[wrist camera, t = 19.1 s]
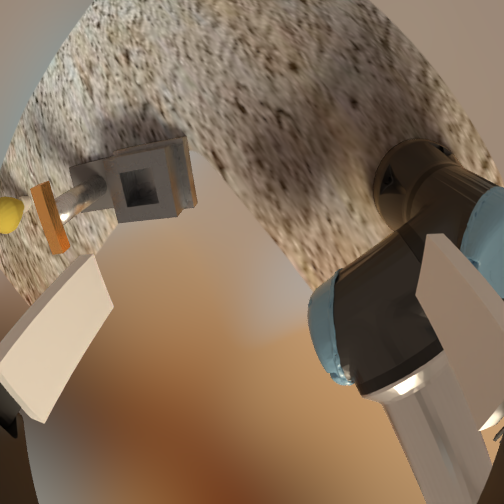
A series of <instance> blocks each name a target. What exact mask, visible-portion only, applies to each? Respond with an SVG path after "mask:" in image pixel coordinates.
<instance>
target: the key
mask: <svg viewBox="0 0 504 504" xmlns="http://www.w3.org/2000/svg"><path fill="white" fill-rule="evenodd" d="M30 190H31V194H32V197H33V200H34V203H35V207H36V210H37V213H38V216H39V219H40V222H41V224H42V227H43V230H44V233H45V235H46V238H47V241H48V243H49V246H50V248H51V251H52V254H61V253H64V252H65V251H66V250H67V249H68V248H69V247H70V244H69V241H68V238H67V236H66V233H65V230H64V227H63V225H65V224H66V223H67V222H68V221H70V220H71V219H72V218H73V217H75V216H76V215H77V214H79V213H80V212H81V211H83V210H84V209H85V208H87V207H88V206H89V205H91V204H92V203H93V202H95V201H96V200H97V199H99V198H100V197H102V196H103V195H104V194H105V193H106V191H107V184H106V181H105V180H104V178H103V177H101V176H99V175H94V176H92V177H91V178H89V179H87V180H85V181H84V182H82V183H80V184H78V185H77V186H75V187H73V188H72V189H70V190H68V191H67V192H65V193H63V194H62V195H60V196H59V197H57V198H55V199H54V196H53V193H52V190H51V186H50V183H49V181H47V182H44V183H41V184H38V185H36V186H34V187H33V188H31V189H30Z"/></svg>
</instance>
